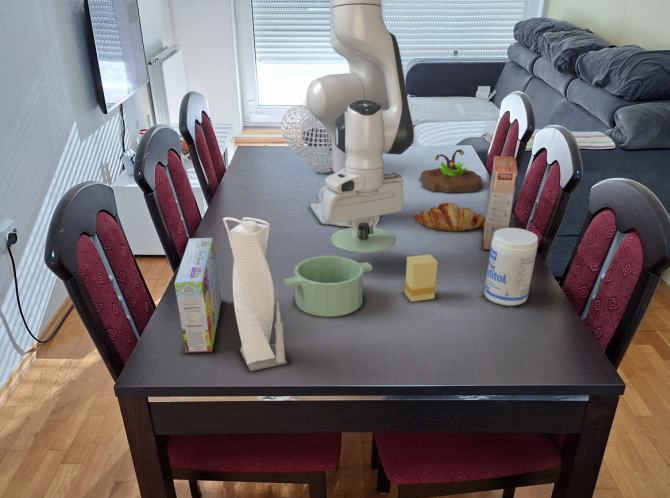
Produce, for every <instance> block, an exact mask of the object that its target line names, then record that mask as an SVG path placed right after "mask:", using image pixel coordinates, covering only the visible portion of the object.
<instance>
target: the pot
mask: <svg viewBox="0 0 670 498" xmlns="http://www.w3.org/2000/svg"><path fill="white" fill-rule="evenodd" d="M370 271H373V265H371V263H369V262H368V261H365V262H361V263H360V262H358V261H356V260H354V259H352V258H349V257H344V256H338V255H318V256H313V257H308V258H306V259H303V260H302V261H301V260H300V261H299V262H298V263H297V264H296V265H295V266H294V271H293V275H294V276H293V277H287V278H284V279H283V284H284V285H285V286H286V287H287V288H288V289H289V288H290V289H291V288H293V287H294V301H295V304H296V306H297V307H298V309H299V310H301V311H302V312H305V313H306V314H309V315H313V316H318V317H328V318H329V317H341V316H345V315H349V314H352V313H353V312H356V311H357V310H359V308H360V307H361V306H362V305H363V297H364V296H363V295H364V293H363V292H364V291H363V290H364V273H365V272H370Z"/></svg>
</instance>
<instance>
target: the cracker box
mask: <svg viewBox="0 0 670 498" xmlns="http://www.w3.org/2000/svg"><path fill="white" fill-rule="evenodd" d="M491 171H492V172H491V178H490V185H489V192H488V199H487V205H486V212H485V213H486V214H485V218H486V220H485V227H483V247H482V249H483V250H487V251H490V250H491V244H492V239H493V236H494V233H495V231H497V230H499V229H503V228H510V227H509V226H510V222H511V221H510V220H511V214H512V209H513V208H512V207H513V201H514V196H515V189H516V183H517V177H518V165H517V157H515V156H505V155H494V156H493V163H492V170H491Z"/></svg>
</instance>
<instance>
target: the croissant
mask: <svg viewBox="0 0 670 498" xmlns="http://www.w3.org/2000/svg"><path fill="white" fill-rule="evenodd" d="M413 220H414V221H415V222H417V223H419V224H421V225H423V226H425V227H426V228H430V229H435V230H439V231H444V232H446V231H450V232H460V231H465V230H473V229H474V230H475V229H477V228H479V229H482V228H484V227H485V220H486V216H485V215H483V214H482V213H477V212H476V211H473V210H472V209H471V208H470V207H461V208H460V207H459V206H458V205H457V204H455V203H452V202H442V203H440V204H439V205H438V206H437V207H435V206H434V207H431V208H430V209H429V210H428V211H420V212H419V213H414V214H413Z"/></svg>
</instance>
